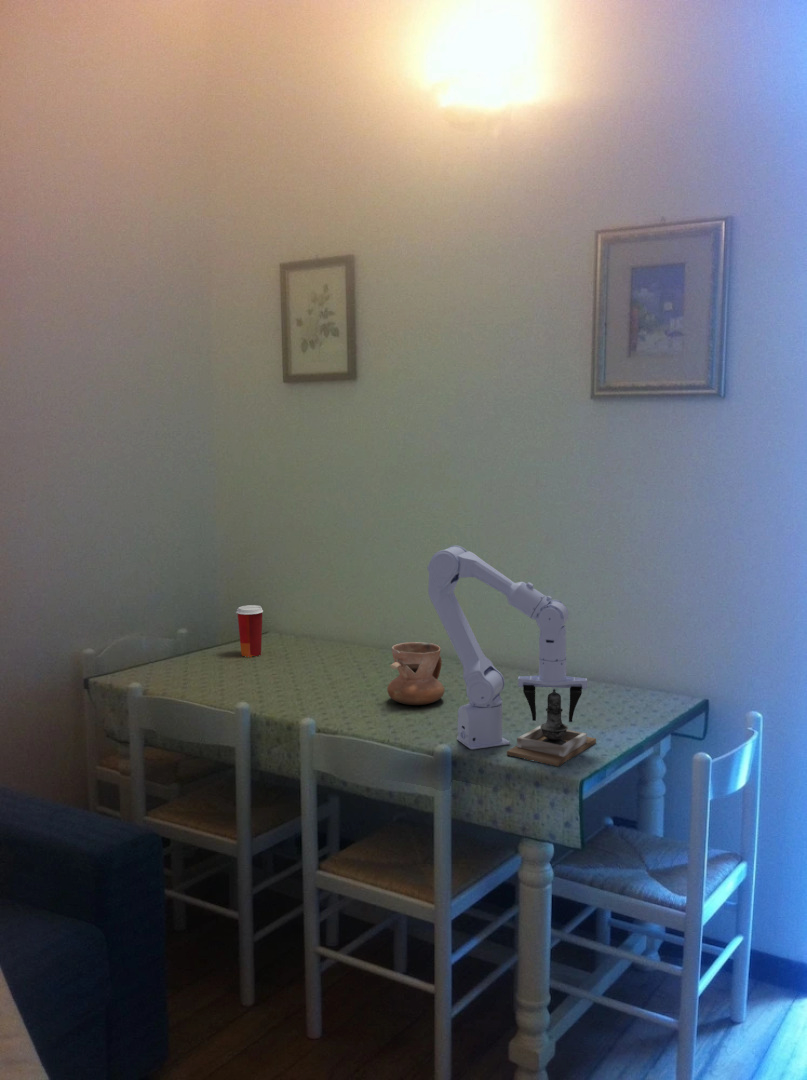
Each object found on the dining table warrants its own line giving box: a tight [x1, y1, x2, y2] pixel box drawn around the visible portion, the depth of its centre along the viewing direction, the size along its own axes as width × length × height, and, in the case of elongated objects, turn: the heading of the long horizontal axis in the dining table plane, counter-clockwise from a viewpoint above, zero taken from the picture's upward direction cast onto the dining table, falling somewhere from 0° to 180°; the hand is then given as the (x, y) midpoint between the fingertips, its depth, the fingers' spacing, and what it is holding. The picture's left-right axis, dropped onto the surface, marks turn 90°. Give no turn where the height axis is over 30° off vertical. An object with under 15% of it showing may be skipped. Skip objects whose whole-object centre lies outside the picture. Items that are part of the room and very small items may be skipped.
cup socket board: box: [506, 724, 597, 767], centre depth 208 cm, size 18×12×3 cm, turn 144°
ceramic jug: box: [386, 641, 445, 706], centre depth 245 cm, size 18×14×14 cm
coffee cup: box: [235, 604, 264, 658], centre depth 297 cm, size 8×8×15 cm
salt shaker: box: [540, 688, 569, 745], centre depth 208 cm, size 6×6×12 cm
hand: (552, 720), depth 207 cm, fingers open, 7 cm apart
